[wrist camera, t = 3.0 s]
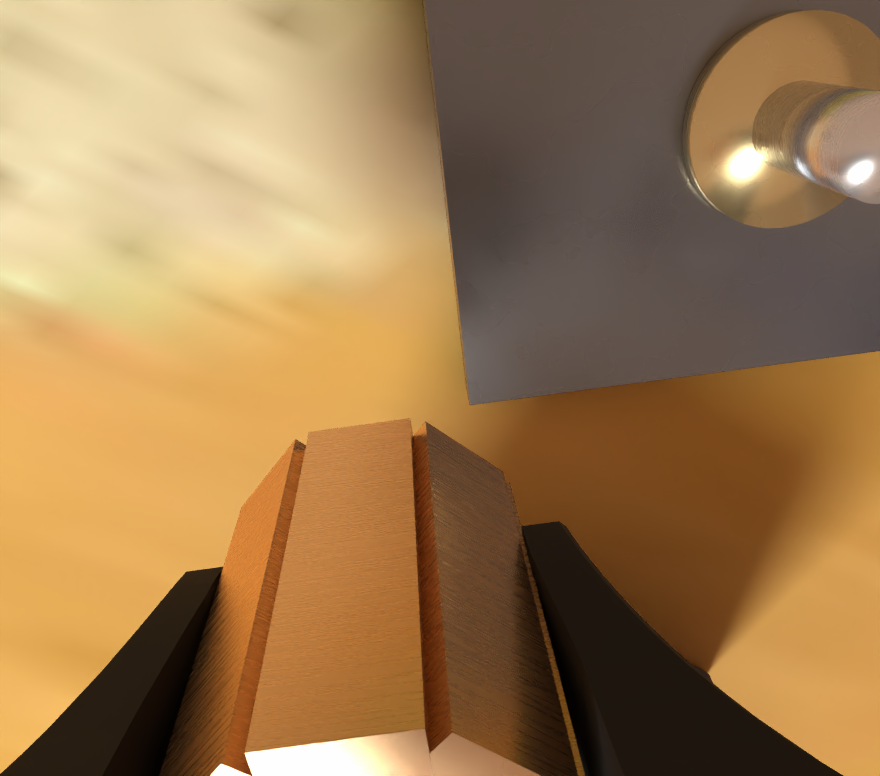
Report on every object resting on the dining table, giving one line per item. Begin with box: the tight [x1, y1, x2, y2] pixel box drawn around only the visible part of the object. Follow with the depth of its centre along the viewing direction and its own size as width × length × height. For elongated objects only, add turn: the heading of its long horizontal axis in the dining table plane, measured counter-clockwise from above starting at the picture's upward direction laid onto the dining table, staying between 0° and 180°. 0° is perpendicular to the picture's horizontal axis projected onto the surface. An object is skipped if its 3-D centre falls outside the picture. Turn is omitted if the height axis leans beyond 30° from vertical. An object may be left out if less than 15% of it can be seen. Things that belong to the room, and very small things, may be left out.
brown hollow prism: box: [159, 418, 585, 776], centre depth 11 cm, size 5×5×6 cm
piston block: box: [423, 0, 880, 405], centre depth 15 cm, size 15×12×5 cm
